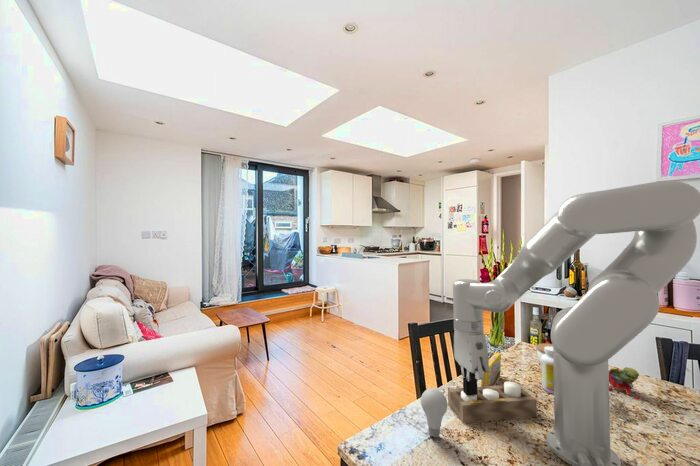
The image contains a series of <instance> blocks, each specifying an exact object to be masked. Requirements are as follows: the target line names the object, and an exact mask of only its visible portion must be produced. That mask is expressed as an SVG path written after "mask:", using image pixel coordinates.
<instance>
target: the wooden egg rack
mask: <svg viewBox="0 0 700 466" xmlns="http://www.w3.org/2000/svg"><path fill="white" fill-rule="evenodd" d="M483 389H493V390H495V391H497V392H498V393H499V399H491V400H488V399H487V398H485V397H484V396H483ZM461 391H463V387H461V388H460V387H459V388H457V387H456V388H447V407H449V408H450V409H451V410H452V412H453V413H454V414H455V415H456V417H457V418H458V420H459V421H461V423H462V424H470V423H479V422H480V423H481V422H490V421H499V420H500V421H501V420H502V421H503V420H511V419H512V420H513V419H522V418H523V419H524V418H533V417H534V418H535V417H537V416H538V411H537V409H538V408H537V405H538V404H537V403H538V402H537V400H538V399H537V398H535V397H534V396H533V395H532V394H530V393H528V392H527V391H526V390H524V389H523V388H521V397H516V398H510V397H509V396H507V395H506V394H505V393H504V384H500V385H498V384H497V385H494V386H483V387H481V386H477V392H478V393H477V400H476V401H467V402H465V401H464V400H463V399H462V398H461Z"/></svg>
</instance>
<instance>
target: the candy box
mask: <svg viewBox="0 0 700 466" xmlns="http://www.w3.org/2000/svg"><path fill="white" fill-rule="evenodd" d="M501 355H502V354H501V353H499V352H494V354H493V355H492V356H491V357H490V358H488V361H489V371H488V372H484V371H483V370H482V372H483V379H481V380H480V387H483V386H496V384H497V382H498V381H499V379H500V378H501V367H502V366H501V362H502V361H501V357H502V356H501Z"/></svg>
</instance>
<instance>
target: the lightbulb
mask: <svg viewBox="0 0 700 466" xmlns="http://www.w3.org/2000/svg"><path fill="white" fill-rule="evenodd" d="M420 405H421V408H422V410H423V412H424V414H425V416H426V423H427V426H428V427H427V428H428V435H430V436H431V437H432V436H433V437H432V438H438V437H439V436H440V434H441V427H442V419H443V417H444V416H445V414H446V413H447V410H448V399H447V398H446V396H445V394H444V393H443V392H442V391H441V390H439V389H437V388H434V387H433V388H432V387H431V388H428V389H425V390H424V391H423V393H422V395H421V398H420Z"/></svg>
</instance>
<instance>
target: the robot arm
mask: <svg viewBox="0 0 700 466" xmlns="http://www.w3.org/2000/svg"><path fill="white" fill-rule="evenodd" d="M699 215H700V191H699V190H698V189H697V188H696V187H694V186H693V185H690V184H689V183H687V182H683V181H678V180H659V181H651V182H646V183H640V184H636V185H635V184H634V185H629V186H623V187H622V186H621V187H617V188H611V189H604V190H598V191H591V192H583V193H580V194H575V195H573V196H571V197H569V198H567V199H566V200H564V201H563V202H562V203H561V204H560V206H559V208H558V210H557V211H556V212H555V214H554V215H552V217H550V219H548V221H547V222H546V223H545V224H543V225H542V227H541V228H540V229H538V231H537V232H536V233H535V234H533V235H532V236H531V237H530V238H529V239H528V240H527V241H526V242H525V243H524V244H523V246H522V247H521V249H520V250H519V253H518V255H517V256H516V257H515V259H514V260H512V262H511V263H510V264H509V265H508V267H506V268H505V269H504V270H503V271H502V272H501V273H500V274H499V275H498V276H497V277H496V278H495V279H494V280H491V281H489V282H481V281H480V280H477V279H471V278H470V279H469V278H464V279H463V278H461V279H456V280H454V281H453V283H452V301H453V302H452V304H453V305H452V306H453V307H452V309H453V330H454V333H453V356H454V360H455V361H456V363H458V365H459V366H460V370H461V377H462V388H463V392H464V393H465V394H466V395H477V393H478V392H477V387H478V381H479V380H480V381H481V379H483V372H482V370H483V371H484V372H488V371H489V361H488V360H489V353H488V352H489V351H488V343H487V340H486V339H487V338H486V336H485V333H484V330H485V329H484V326H485V325H484V311H487V312H491V313H495V314H496V313H498V314H499V313H504V312H507V311H508V310H509V309H510V308H511V307H513V305H514V304H515V303H516V302H517V301H518V300H519V299H520V298H521V297H522V296H523V295H525V293H527V292H528V291H529V290H530V289H531V288H532V287H534V286H535V285H536V284H537V283H538V282H539V281H540V280H542V279H543V278H545V277H546V276H549V274H552V273H554V272H555V270H557V269H558V268H559V267H561V266H562V265H563V264H564V263H565V262H566V261H567V260H568V259H569V258H571V257H572V256H573V255H574V254H575V253H576V252H578V251H579V250H580V249H581V248H582V247H583V246H584V245H585V244H586V243H588V241H590V240H591V239H592V238H593V237H594V236H596V235H606V234H607V235H608V234H617V233H618V234H620V233H630V232H631V233H632V232H634V235H633V237H632V239H631V241H630V243H629V244H627V246H626V247H625V248H623V249H622V251H621V253H620V254H618V256H617V257H616V258H615V259H614V260H613V261H612V262H611V263H610V264H609V265H608V266H606V267H605V269H603V270H602V272H600V273H599V274H598V275H597V276H596V277H594V278H593V279H592V280H591V281H590V283H589V285H588V289H587V292H585V294H584V295H582V297H581V298H579V300H578V301H576V302H575V304H574V305H572V306H568V307H565V308H563V309H561V310H560V311H558V312H557V313H556V314H555V316H554V317H553V319H552V322H551V329H550V341H551V344H553V364H554V365H553V366H554V394H553V410H554V412H553V413H554V414H553V416H554V417H553V420H554V429H550V430H549V431H548V432H547V433H546V444H547V446H548V447H549V449H550V450H551V452H553V453H554V454H555V455H556V456H557V457H558V458H560V459H561V460H563V461H564V462H565V463H567V464H568V465H571V466H622V464H621V463H622V461H621V458H620V457H619V456H618V454H617V453H616V452H615V451H614V450H613V449H612V448H611V420H610V419H611V418H610V391H609V387H610V382H609V373H610V372H609V370H610V369H609V360H610V359H611V358H612V357H613V356H615V355H616V354H618V352H619V351H621V350H622V349H623V348H624V347H625V346H627V345H628V344H629V343H630V342H631V341H632V340H634V339H635V337H637V336H639V334H640V333H642V332H643V331H644V330H646V328H647V327H648V326H649V325H650V324H651V323H652V322H653V321H654V320H655V319H656V317H657V315H658V313H659V312H660V311H659V310H660V304H661V303H660V297H659V295H658V294H659V293H660V292H661V291H662V290H663V289H664V288H665V287H666V286H667V285H668V284H669V283H670V282H671V281H672V280H673V279H674V278H676V276H677V275H678V274H679V273H680V272H681V271H682V270H683V269H684V268H685V266H686V265H687V264H688V263H689V262H690V261H691V260H692V259H691V258H692V257H693V255H694V254H695V251H696V247H697V240H698V239H697V238H698V236H697V228H696V225H695V223H694V220H695V219H696V218H697V217H699Z"/></svg>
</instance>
